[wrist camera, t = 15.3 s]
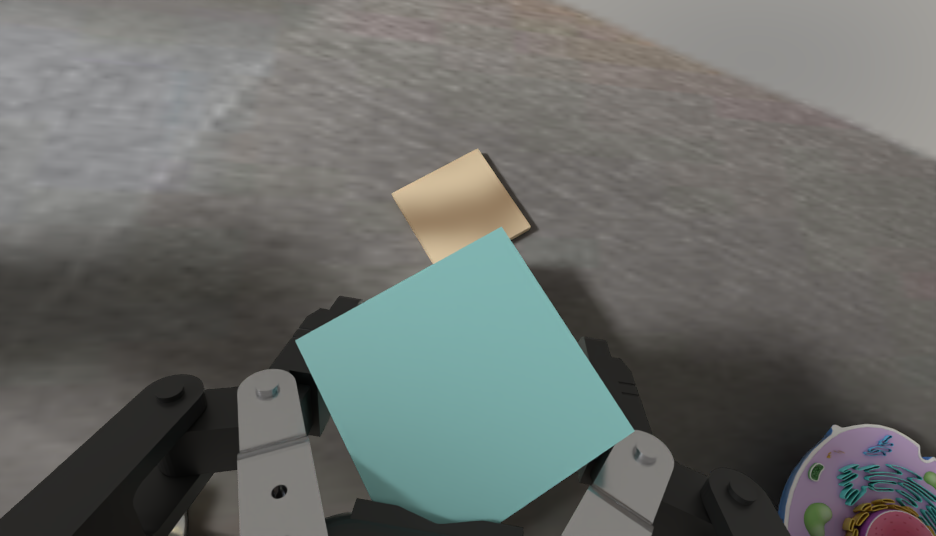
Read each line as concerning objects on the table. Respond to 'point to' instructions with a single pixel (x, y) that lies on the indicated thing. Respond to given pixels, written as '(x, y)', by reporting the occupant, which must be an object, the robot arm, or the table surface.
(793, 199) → the table surface
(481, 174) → the pad
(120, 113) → the table surface
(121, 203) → the table surface
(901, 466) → the cell model
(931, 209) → the table surface
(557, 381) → the teal upright prism
